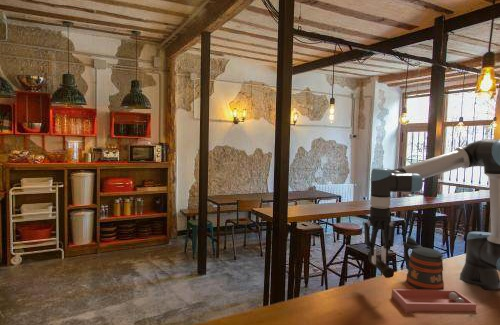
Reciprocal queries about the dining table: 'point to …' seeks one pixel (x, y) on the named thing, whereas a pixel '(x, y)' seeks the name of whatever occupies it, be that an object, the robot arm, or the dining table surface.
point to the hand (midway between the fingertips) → (378, 263)
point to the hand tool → (382, 266)
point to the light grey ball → (453, 296)
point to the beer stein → (423, 267)
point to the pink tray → (430, 300)
